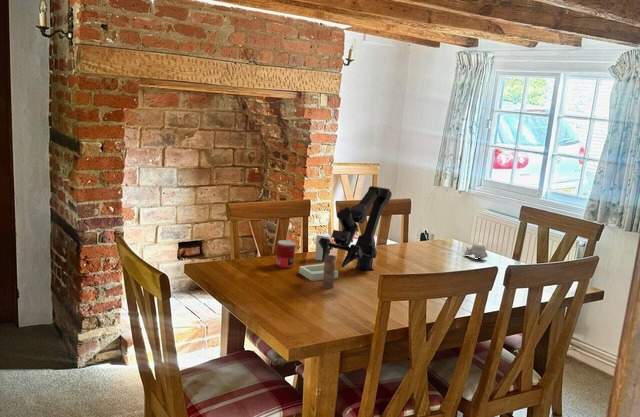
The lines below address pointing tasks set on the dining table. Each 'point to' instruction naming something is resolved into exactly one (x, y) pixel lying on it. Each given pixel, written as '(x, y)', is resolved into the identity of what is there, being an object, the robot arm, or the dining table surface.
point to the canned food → (285, 254)
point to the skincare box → (318, 248)
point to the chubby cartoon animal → (476, 251)
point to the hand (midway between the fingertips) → (332, 264)
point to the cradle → (314, 272)
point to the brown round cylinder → (329, 271)
